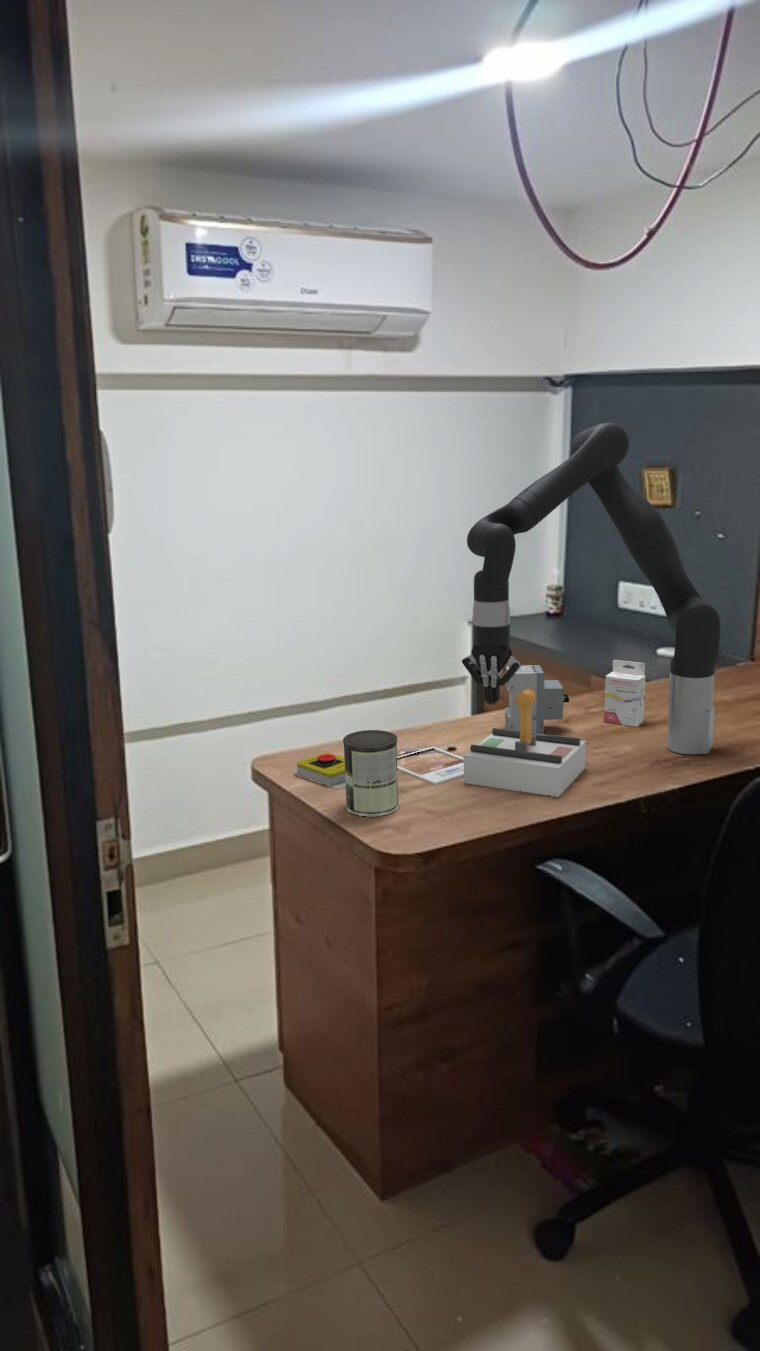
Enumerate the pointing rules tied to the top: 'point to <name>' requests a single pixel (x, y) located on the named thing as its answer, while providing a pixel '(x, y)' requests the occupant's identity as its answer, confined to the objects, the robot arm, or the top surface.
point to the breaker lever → (525, 713)
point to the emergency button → (324, 769)
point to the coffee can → (371, 773)
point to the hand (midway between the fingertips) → (492, 703)
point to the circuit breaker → (546, 698)
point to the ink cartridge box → (625, 694)
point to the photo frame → (441, 774)
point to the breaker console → (525, 762)
